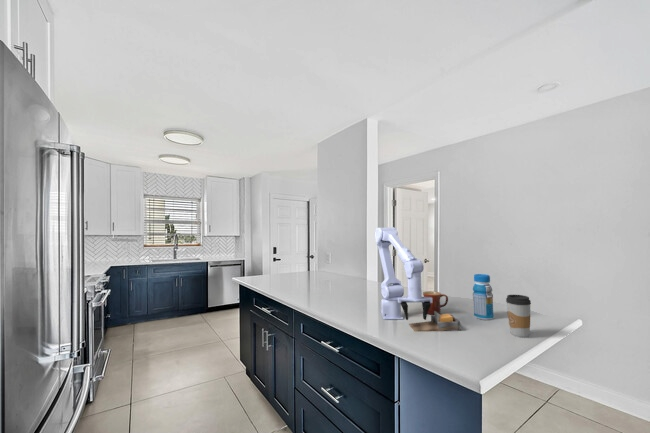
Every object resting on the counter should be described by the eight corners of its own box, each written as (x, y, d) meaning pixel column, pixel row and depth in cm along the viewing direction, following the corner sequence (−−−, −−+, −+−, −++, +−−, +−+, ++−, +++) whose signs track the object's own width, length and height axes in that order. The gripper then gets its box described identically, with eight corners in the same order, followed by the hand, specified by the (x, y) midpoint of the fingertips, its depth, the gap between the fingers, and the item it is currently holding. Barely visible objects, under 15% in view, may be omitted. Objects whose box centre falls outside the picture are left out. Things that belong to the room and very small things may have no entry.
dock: (414, 333, 123) (413, 322, 123) (408, 325, 133) (408, 315, 133) (460, 333, 122) (460, 321, 123) (451, 325, 132) (451, 314, 132)
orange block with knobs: (438, 326, 125) (438, 314, 125) (433, 321, 131) (433, 310, 131) (454, 325, 124) (453, 314, 125) (448, 321, 131) (448, 310, 131)
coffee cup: (502, 331, 120) (500, 294, 121) (522, 330, 121) (520, 293, 121) (517, 339, 112) (515, 299, 112) (538, 338, 113) (536, 298, 113)
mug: (425, 316, 144) (424, 295, 144) (421, 311, 152) (420, 291, 153) (451, 316, 142) (450, 295, 143) (445, 311, 151) (444, 291, 152)
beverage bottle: (474, 319, 137) (472, 276, 138) (473, 314, 145) (471, 273, 146) (495, 321, 134) (493, 276, 135) (492, 315, 142) (490, 274, 143)
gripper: (399, 289, 125) (400, 322, 125) (434, 289, 125) (435, 321, 124) (396, 286, 132) (397, 317, 132) (429, 286, 132) (430, 316, 131)
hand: (415, 319), depth 128 cm, fingers open, 7 cm apart
